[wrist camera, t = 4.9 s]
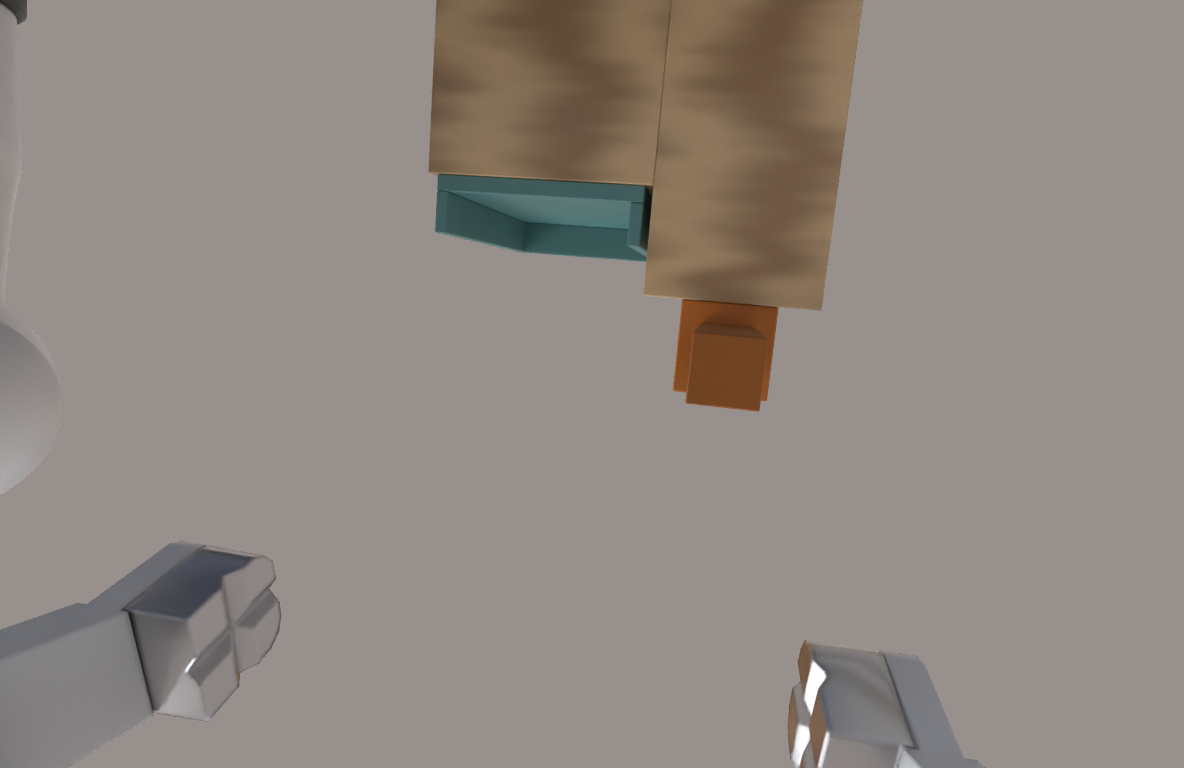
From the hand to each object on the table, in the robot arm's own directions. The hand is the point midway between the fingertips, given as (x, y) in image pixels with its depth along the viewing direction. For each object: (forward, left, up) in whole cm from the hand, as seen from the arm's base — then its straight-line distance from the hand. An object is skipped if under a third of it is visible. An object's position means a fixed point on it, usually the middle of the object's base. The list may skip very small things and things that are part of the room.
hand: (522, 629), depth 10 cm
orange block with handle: (+9, -22, -5) cm, 24 cm away
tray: (+1, -29, -10) cm, 31 cm away
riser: (+5, -28, -31) cm, 42 cm away
